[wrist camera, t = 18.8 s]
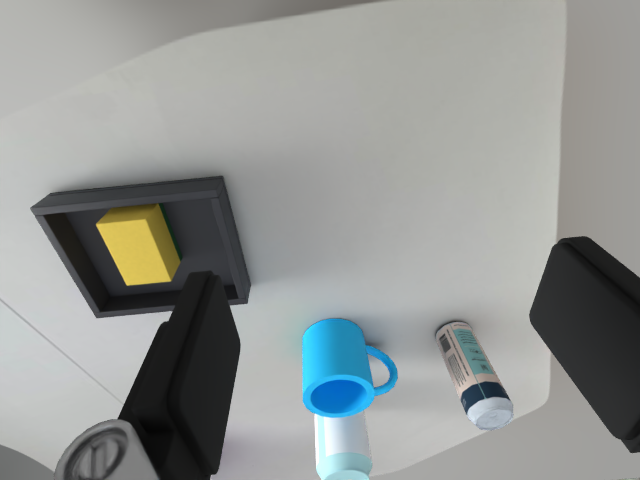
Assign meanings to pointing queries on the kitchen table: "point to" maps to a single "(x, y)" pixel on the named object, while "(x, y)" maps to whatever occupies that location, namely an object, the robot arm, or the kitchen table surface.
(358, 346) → the mug
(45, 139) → the kitchen table surface
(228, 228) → the tray
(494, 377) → the beer can
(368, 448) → the can
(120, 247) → the sponge
